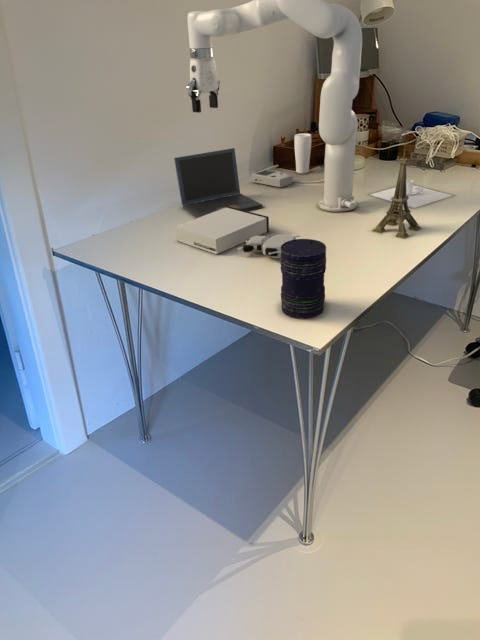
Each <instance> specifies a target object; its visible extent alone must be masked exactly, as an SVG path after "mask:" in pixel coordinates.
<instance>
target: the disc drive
mask: <svg viewBox="0 0 480 640" xmlns="http://www.w3.org/2000/svg"><path fill="white" fill-rule="evenodd" d="M269 220H270V219H269V216H268V215H263V214H259V213H256V212H252V211H244V210H240V209H237V208H233V207H229V206H226V208H223V209H221V210H218V211H215V212H213V213H210V214H207V215H205V216H202V217H199V218H197V217H196V218H194V219H191V220H189V221H186V222H183V223H181V224H178V225H175V226H174V230H175V231H174V232H175V240H176V242H180V243H182V244H185V245H188V246H191V247H194V248H197V249H200V250H203V251H206V252H209V253H211V254H215V255H218V254H220V253H223V252H225V251H227V250H230V249H232V248H234V247H236V246H239V245H241V244H243V243H245V241H246V240H248V238H252V237H253V236H257V235H263V234H265V233H267V234H268V233H269V232H270V228H269V227H270V224H269V223H270V221H269Z"/></svg>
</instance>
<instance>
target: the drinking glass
mask: <svg viewBox="0 0 480 640" xmlns="http://www.w3.org/2000/svg"><path fill="white" fill-rule="evenodd" d="M293 138H294V141H293V144H294V145H293V146H294V156H295V157H294V158H295V172H296V174H299V175H305V174H308V173H309V172H310V161H311V152H312V134H310V133H308V132H307V133H305V132H303V133H296V134H294V137H293Z"/></svg>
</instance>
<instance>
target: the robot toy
mask: <svg viewBox="0 0 480 640" xmlns="http://www.w3.org/2000/svg"><path fill="white" fill-rule="evenodd" d="M300 237H301V235H300V234H299V235H295V236H293V235H291V234H277V235H273V236H271V237H269V238H268V237H267V236H265V235H263V234H261V235H257V236H253V237H252V238H248V240H246V241H245V242H244V244H243V246H238V247H237V251H238V252H243V253H253V254H257V253H262V254H263V255H264V256H265V257H271V258H273V259H275V260H279V259H281V246H282V244H284V243H285V242H287V241H290V240H295V239H297V238H300Z"/></svg>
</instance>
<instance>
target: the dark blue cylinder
mask: <svg viewBox="0 0 480 640" xmlns="http://www.w3.org/2000/svg"><path fill="white" fill-rule="evenodd" d="M326 270H327V245H326V244H325V243H324V242H322V241H320V240H317V239H313V238H312V239H311V238H296V239H295V240H290V241H287V242H285V243H284V244H282V246H281V258H280V273H281V286H280V302H281V312H282V313H283V314H284V315H285V316H287V317H289V318H292V319H297V320H311V319H314V318H317V317H319V316H321V315H322V314H323V313H324V311H325V301H326V287H325V286H326V285H325V274H326Z"/></svg>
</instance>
